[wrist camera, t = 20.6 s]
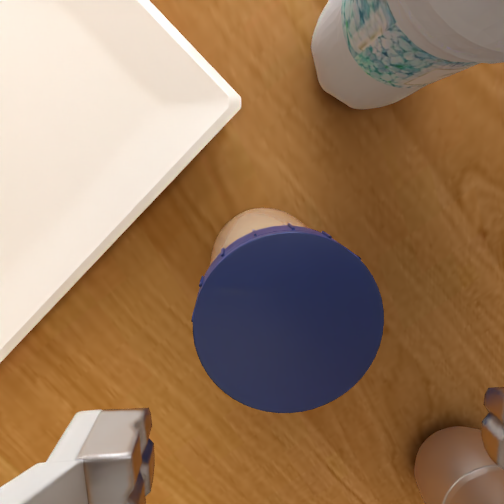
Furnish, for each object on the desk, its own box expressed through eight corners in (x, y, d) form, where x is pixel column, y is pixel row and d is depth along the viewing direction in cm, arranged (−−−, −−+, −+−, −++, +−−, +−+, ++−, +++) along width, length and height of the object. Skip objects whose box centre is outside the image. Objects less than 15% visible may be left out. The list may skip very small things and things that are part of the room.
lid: (315, 189, 15) (326, 192, 14) (398, 335, 17) (417, 353, 15) (160, 285, 16) (153, 299, 14) (254, 418, 17) (257, 445, 15)
